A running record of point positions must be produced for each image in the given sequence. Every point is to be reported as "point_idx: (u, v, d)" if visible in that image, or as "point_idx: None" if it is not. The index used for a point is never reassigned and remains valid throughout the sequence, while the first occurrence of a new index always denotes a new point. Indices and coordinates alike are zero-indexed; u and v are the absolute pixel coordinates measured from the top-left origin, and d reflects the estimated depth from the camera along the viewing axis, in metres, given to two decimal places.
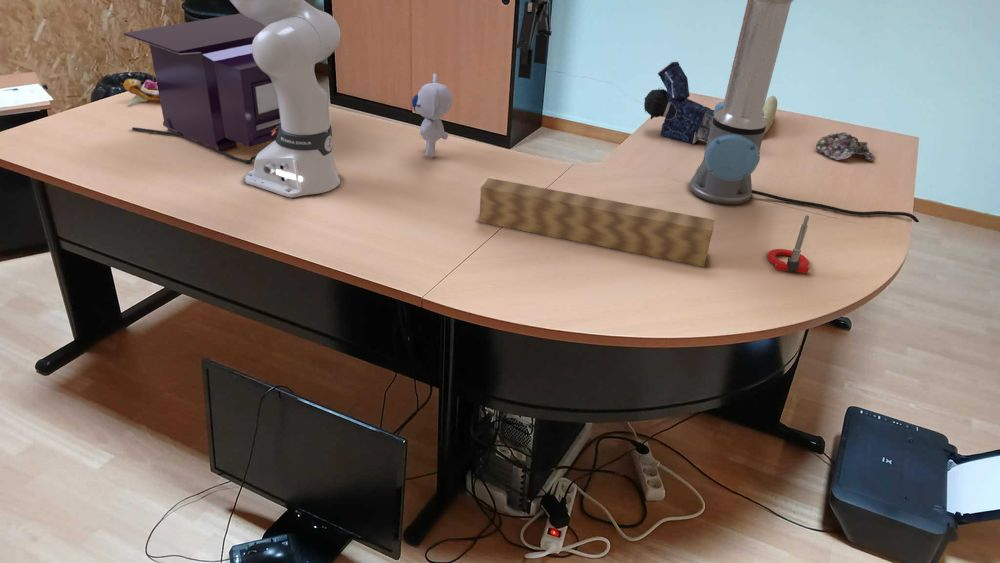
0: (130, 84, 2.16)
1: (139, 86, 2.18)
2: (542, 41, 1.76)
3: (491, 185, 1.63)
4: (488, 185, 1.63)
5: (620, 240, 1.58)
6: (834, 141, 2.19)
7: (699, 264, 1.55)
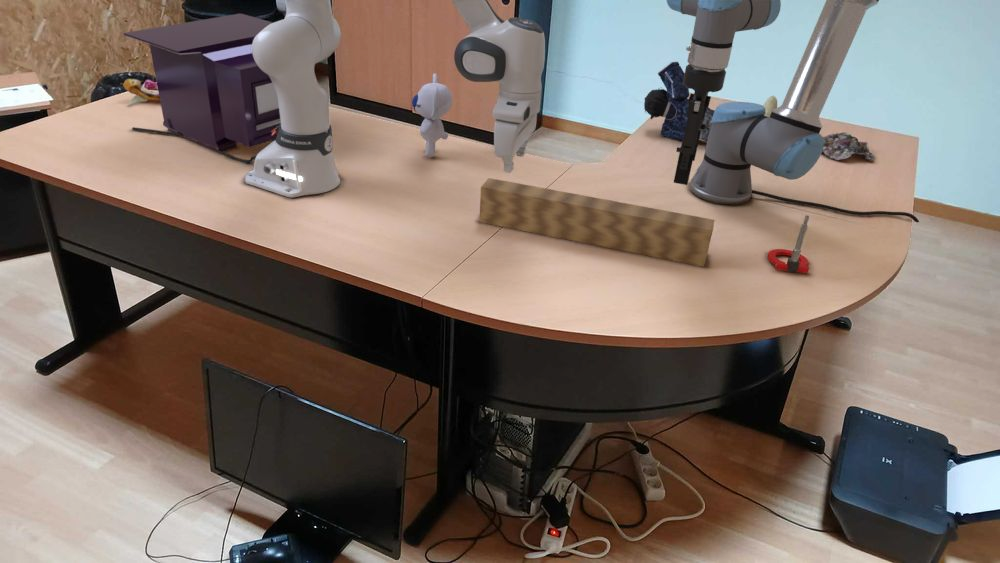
0: (130, 84, 2.16)
1: (139, 86, 2.18)
2: None
3: (491, 185, 1.63)
4: (488, 185, 1.63)
5: (620, 240, 1.58)
6: (834, 141, 2.19)
7: (699, 264, 1.55)
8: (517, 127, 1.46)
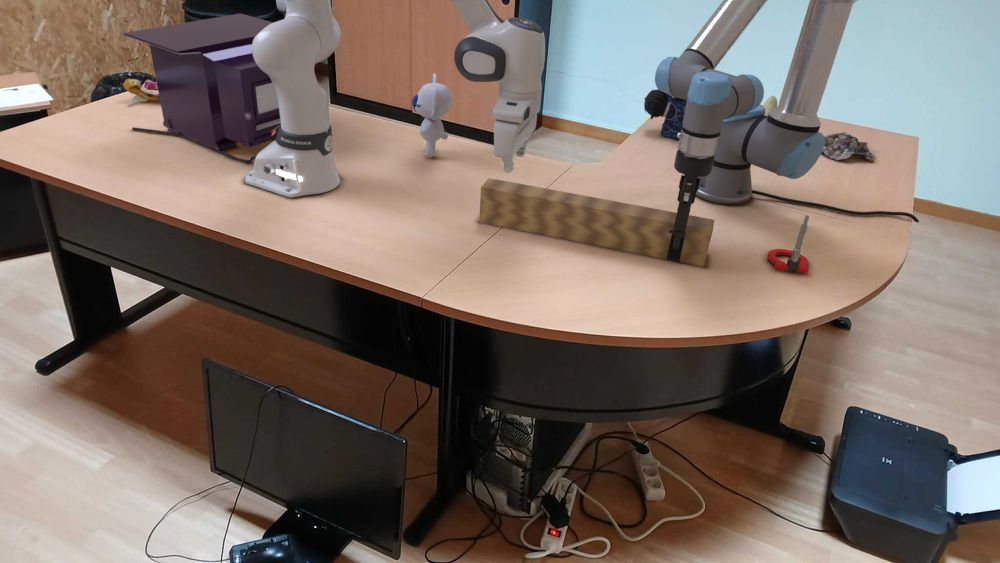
0: (130, 84, 2.16)
1: (139, 86, 2.18)
2: None
3: (491, 185, 1.63)
4: (488, 185, 1.63)
5: (620, 240, 1.58)
6: (834, 141, 2.19)
7: (699, 264, 1.55)
8: (517, 127, 1.46)
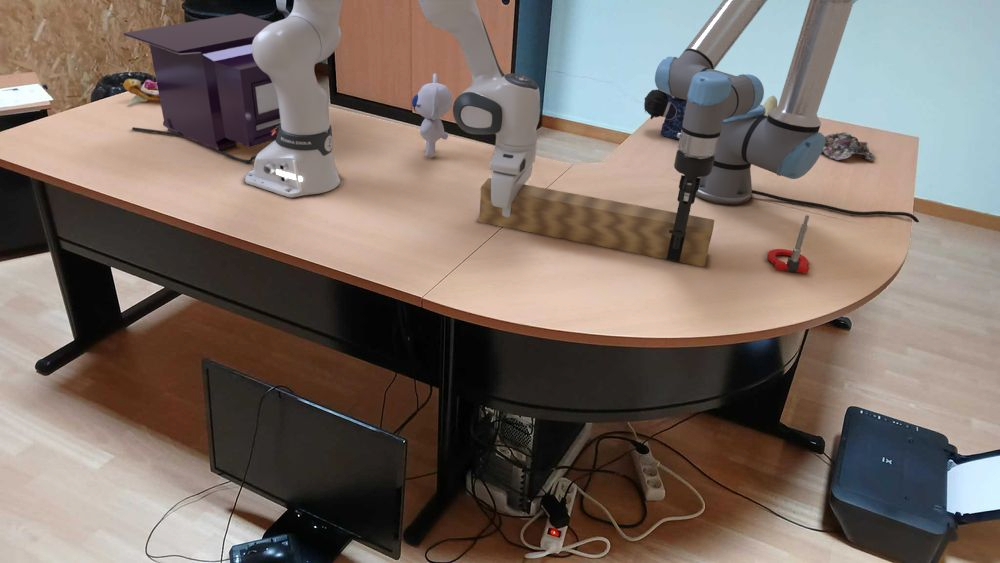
0: (130, 84, 2.16)
1: (139, 86, 2.18)
2: None
3: None
4: (488, 185, 1.63)
5: (620, 240, 1.58)
6: (834, 141, 2.19)
7: (699, 264, 1.55)
8: (513, 179, 1.52)
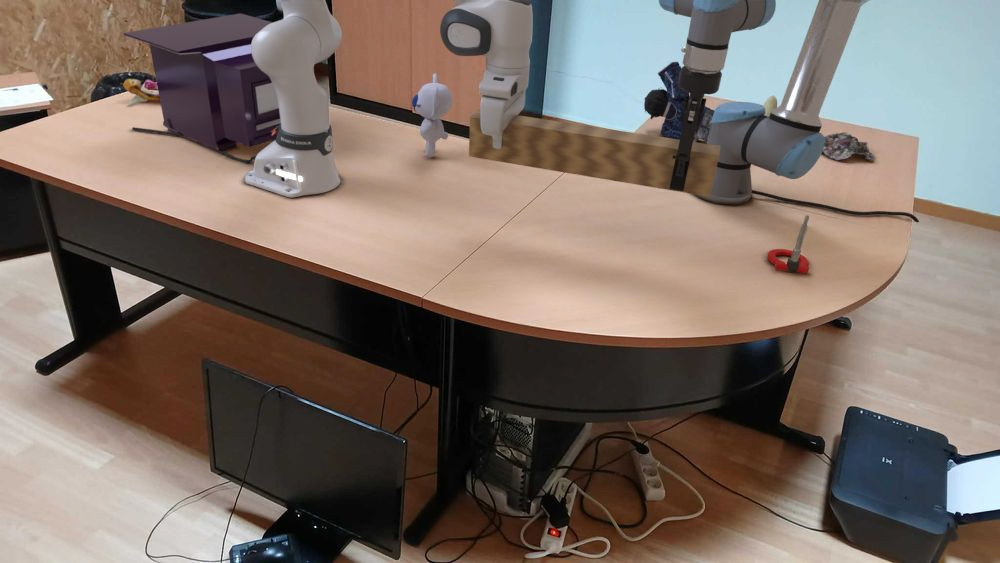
0: (130, 84, 2.16)
1: (139, 86, 2.18)
2: None
3: (480, 116, 1.52)
4: (478, 115, 1.52)
5: (619, 171, 1.47)
6: (834, 141, 2.19)
7: (705, 194, 1.45)
8: (504, 103, 1.41)
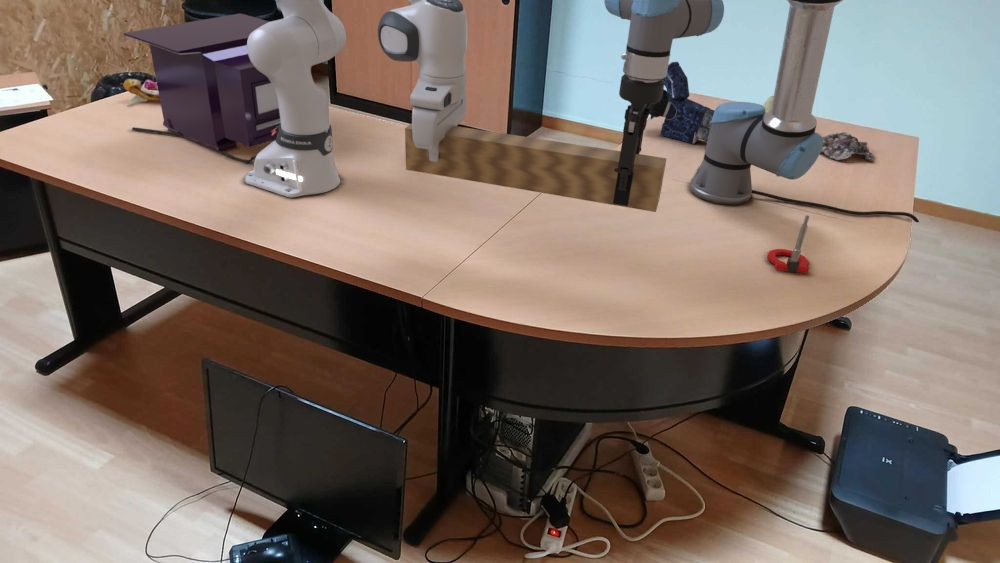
0: (130, 84, 2.16)
1: (139, 86, 2.18)
2: None
3: None
4: None
5: (561, 184, 1.39)
6: (834, 141, 2.19)
7: (650, 209, 1.36)
8: (436, 114, 1.33)
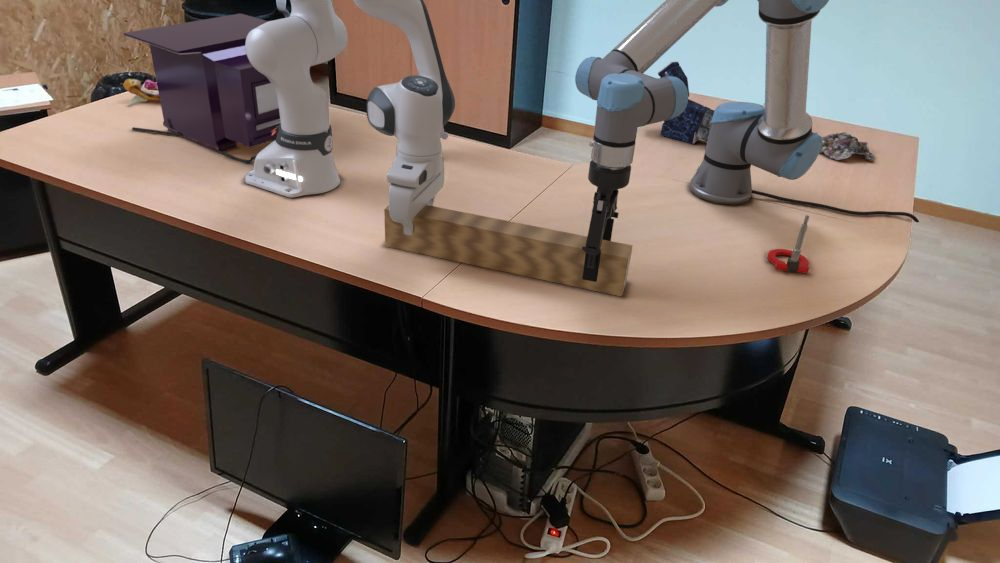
0: (130, 84, 2.16)
1: (139, 86, 2.18)
2: (607, 225, 1.47)
3: None
4: None
5: (532, 267, 1.46)
6: (834, 141, 2.19)
7: (616, 293, 1.43)
8: (412, 192, 1.39)
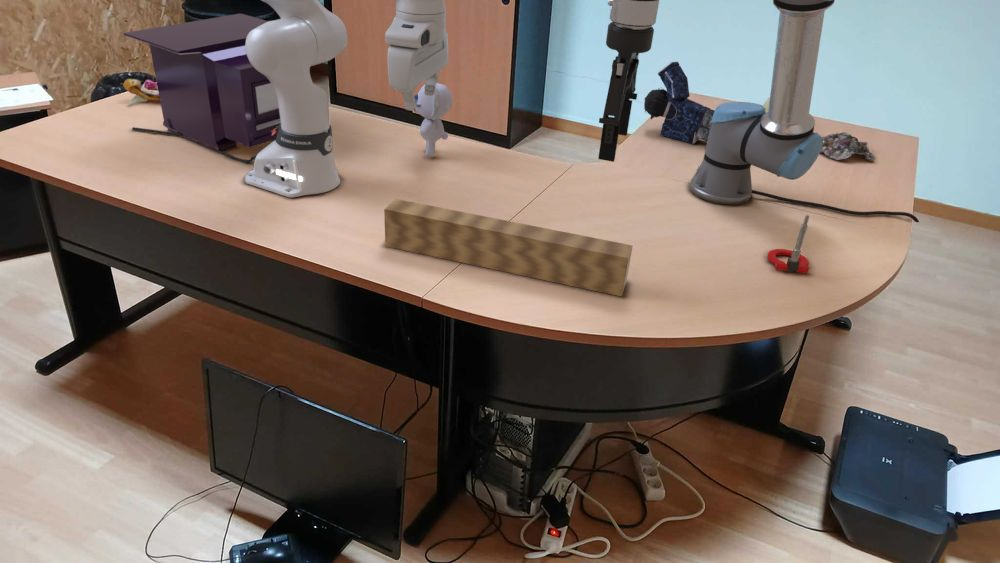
0: (130, 84, 2.16)
1: (139, 86, 2.18)
2: (625, 107, 1.34)
3: (395, 207, 1.51)
4: (392, 207, 1.51)
5: (532, 267, 1.46)
6: (834, 141, 2.19)
7: (616, 293, 1.43)
8: (413, 53, 1.25)
